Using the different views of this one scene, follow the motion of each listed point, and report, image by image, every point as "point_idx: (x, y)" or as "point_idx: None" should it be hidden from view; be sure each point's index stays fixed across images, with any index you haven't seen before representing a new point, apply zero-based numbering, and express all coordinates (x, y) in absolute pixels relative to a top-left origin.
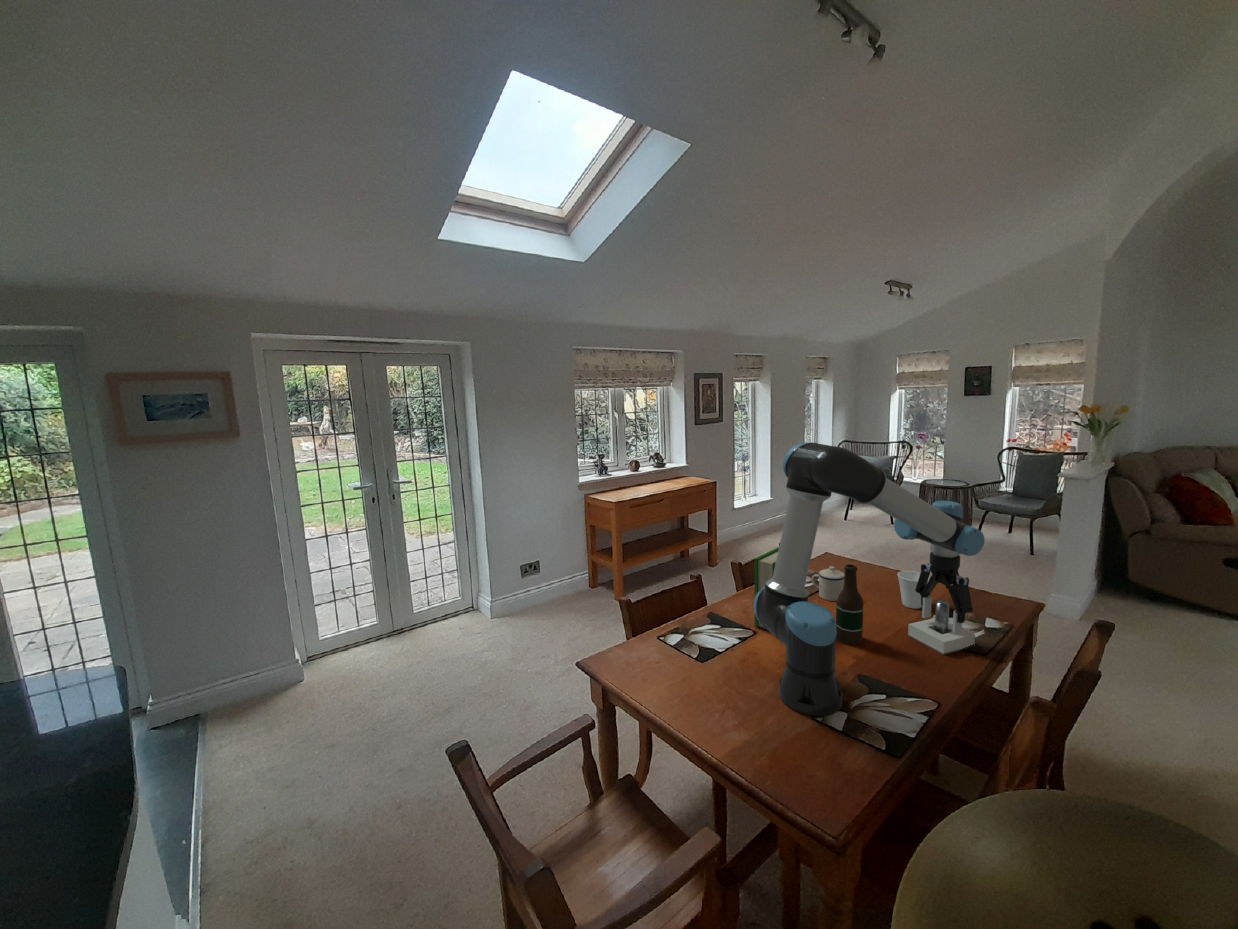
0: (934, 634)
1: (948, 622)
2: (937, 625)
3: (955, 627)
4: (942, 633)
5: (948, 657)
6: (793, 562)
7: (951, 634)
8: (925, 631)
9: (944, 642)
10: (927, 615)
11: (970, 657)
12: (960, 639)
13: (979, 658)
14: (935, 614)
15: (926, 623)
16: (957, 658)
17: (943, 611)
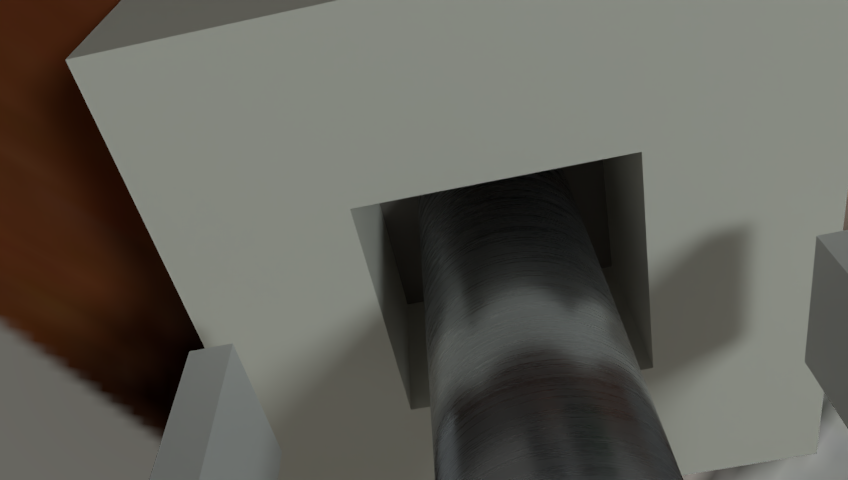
0: (361, 89)
1: None
2: (507, 278)
3: (164, 438)
4: (431, 250)
5: (75, 14)
6: None
7: (329, 324)
8: (502, 8)
9: (76, 71)
10: (830, 329)
11: (93, 260)
12: None
13: (76, 325)
14: (630, 421)
15: (747, 216)
16: (56, 110)
17: None
